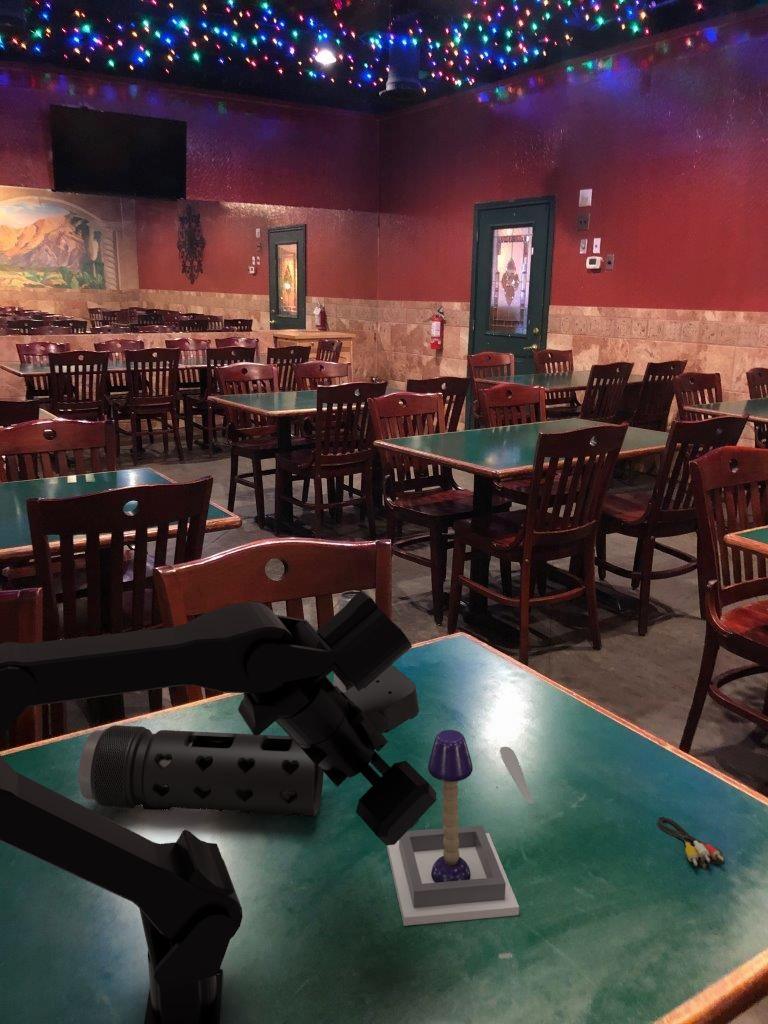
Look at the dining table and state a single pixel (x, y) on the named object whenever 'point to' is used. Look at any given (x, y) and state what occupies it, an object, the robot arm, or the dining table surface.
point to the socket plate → (453, 898)
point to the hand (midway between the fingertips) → (386, 794)
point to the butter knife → (515, 771)
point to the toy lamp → (450, 801)
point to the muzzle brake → (199, 772)
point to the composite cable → (692, 844)
